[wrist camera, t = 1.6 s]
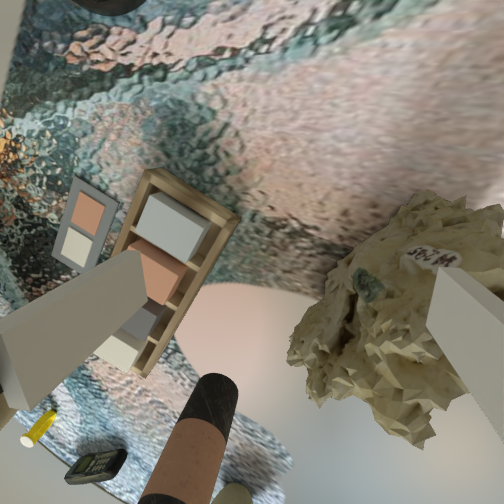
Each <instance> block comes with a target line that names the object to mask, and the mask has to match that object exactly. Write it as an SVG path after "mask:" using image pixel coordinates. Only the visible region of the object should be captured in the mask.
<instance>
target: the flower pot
mask: <svg viewBox="0 0 504 504" xmlns="http://www.w3.org/2000/svg"><path fill="white" fill-rule="evenodd" d="M211 504H253V501H252V497H251V494H250V492H249V490H248V489H247V488H246V487H245V486H244V485H242V484H239V483H229V484H227V485H226V486H225V487H224V488H223V489H222V490H221V491H220V492H219V493H218V494H217V496H216V497H215V498H214V500H213V501H212V503H211Z"/></svg>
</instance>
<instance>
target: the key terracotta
mask: <svg viewBox="0 0 504 504" xmlns="http://www.w3.org/2000/svg"><path fill="white" fill-rule="evenodd" d="M127 250H136V251H140V254H141V261H142V267H143V273H144V279H145V286H146V292H147V296H148V297H150V298H151V299H153V300H154V301H156V302H158V303H159V304H161V305H164V304H165V303H166V302H167V301H168V300H169V299H170V298H171V297H172V296H173V295H174V293H175V291H176V289H177V287H178V286H179V284H180V282H181V280H182V278H183V276H184V274H185V273H186V271H187V269H188V266H187V265H185V264H183V263H182V262H180V261H179V260H177V259H175V258H174V257H172V256H170V255H169V254H167V253H166V252H164V251H162V250H161V249H159V248H158V247H156V246H154V245H153V244H151V243H150V242H148V241H146V240H145V239H143V238H142V239H140V240H138V241H136V242H134V243H132V244H130V245H129V246H128V248H127Z"/></svg>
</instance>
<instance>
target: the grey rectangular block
mask: <svg viewBox="0 0 504 504" xmlns="http://www.w3.org/2000/svg"><path fill="white" fill-rule="evenodd" d="M147 298H148V301H147V302H146V303H145V304H144V305H143V306H142V307H141V308H140V309H139V310H138V311H137V312H136V313H135V314H134V315H132V316H131V317H130V318H129V319H128V320H127V321H126V322H125V323H124V324H123V325H122V326H121V327H120V328H121V329H123V330H125V331H126V332H128V333H130V334H131V335H133V336H134V337H136V338H138V339H139V340H141V341H143V342H144V341H145V340H146V339H147V338H148V337H149V335H150V334H151V333H152V332H153V331H154V330H155V328H156V326H157V324H158V323H159V321H160V319H161V317H162V315H163V313H164V311H165V310H166V308H167V305H165V304H164V305H161V304H159V303H158V302H156V301H154V300H153V299H151V298H150V297H148V296H147Z"/></svg>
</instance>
